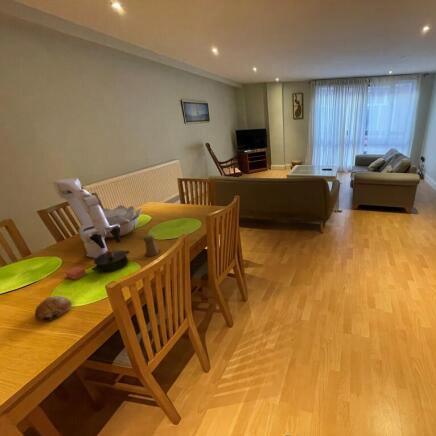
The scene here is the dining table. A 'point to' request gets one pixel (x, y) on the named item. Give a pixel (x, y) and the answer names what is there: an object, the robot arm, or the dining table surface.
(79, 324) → the dining table surface
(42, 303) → the bread roll
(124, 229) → the decorative bowl
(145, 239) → the cork
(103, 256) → the pan lid
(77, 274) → the reddish pink block
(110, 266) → the pan
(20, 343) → the dining table surface
